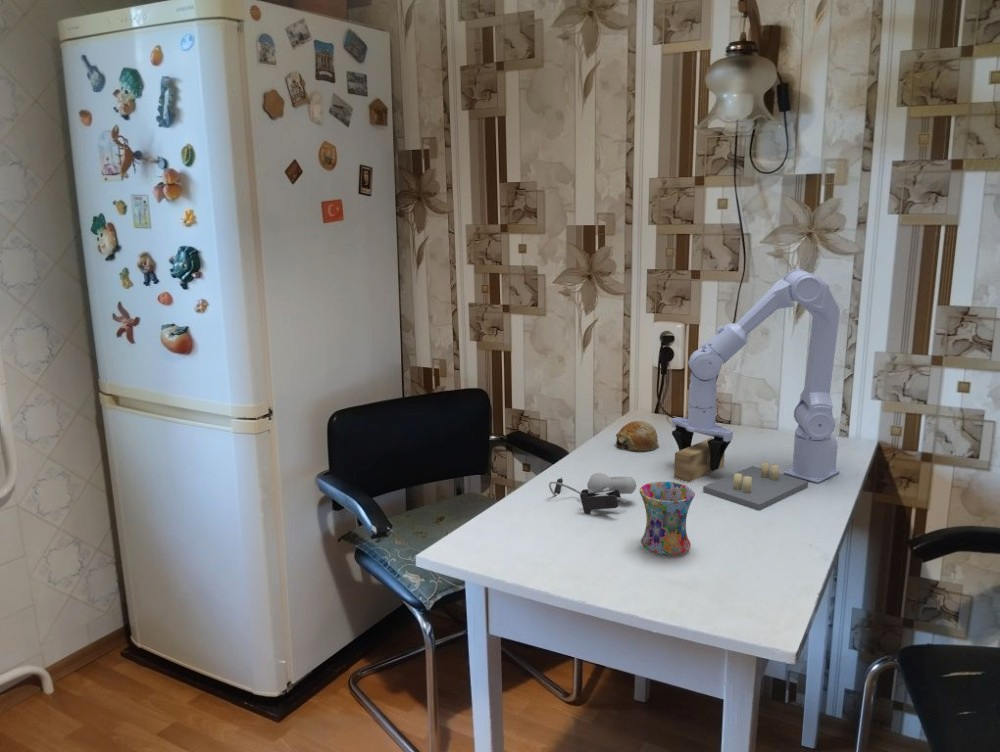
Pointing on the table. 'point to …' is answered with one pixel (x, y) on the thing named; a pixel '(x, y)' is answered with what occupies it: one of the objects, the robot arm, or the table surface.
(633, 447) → the bread roll
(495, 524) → the table surface
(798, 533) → the table surface
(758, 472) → the peg stand
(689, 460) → the oak bar
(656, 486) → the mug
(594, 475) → the clip-on lamp
